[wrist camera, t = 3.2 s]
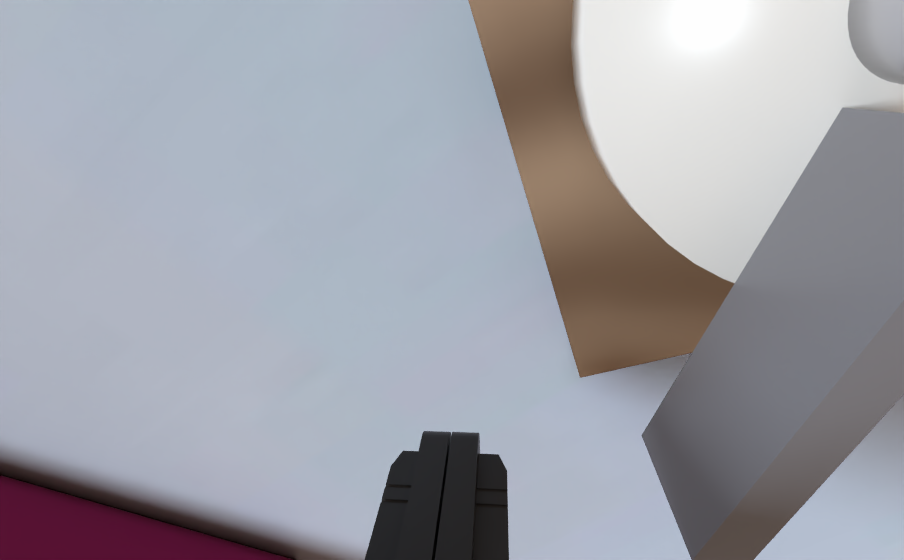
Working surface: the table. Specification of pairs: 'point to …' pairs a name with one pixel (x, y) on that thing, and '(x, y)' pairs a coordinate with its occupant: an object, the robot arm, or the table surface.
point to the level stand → (587, 204)
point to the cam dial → (761, 233)
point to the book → (98, 531)
